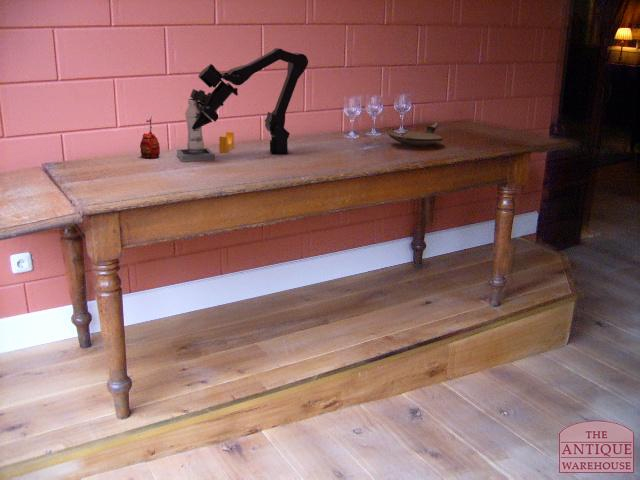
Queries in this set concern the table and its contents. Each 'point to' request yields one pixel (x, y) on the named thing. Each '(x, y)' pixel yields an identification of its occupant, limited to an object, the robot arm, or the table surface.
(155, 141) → the red clay folk toy
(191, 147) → the plastic bottle
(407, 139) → the oil lamp
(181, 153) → the tray
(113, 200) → the table surface
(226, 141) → the orange stepped block
